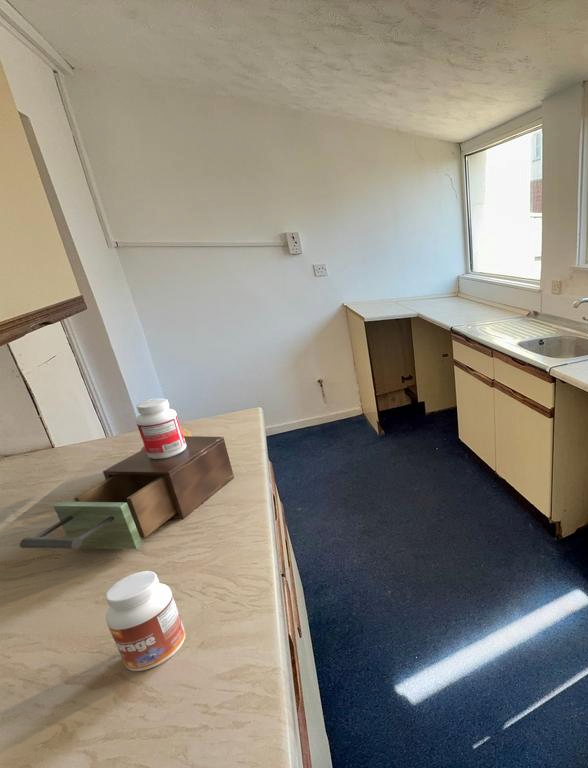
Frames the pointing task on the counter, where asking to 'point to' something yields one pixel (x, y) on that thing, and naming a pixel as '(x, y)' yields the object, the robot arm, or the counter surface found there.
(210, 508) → the counter surface
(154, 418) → the pill bottle
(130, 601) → the pill bottle
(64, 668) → the counter surface
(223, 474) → the cabinet
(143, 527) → the drawer
